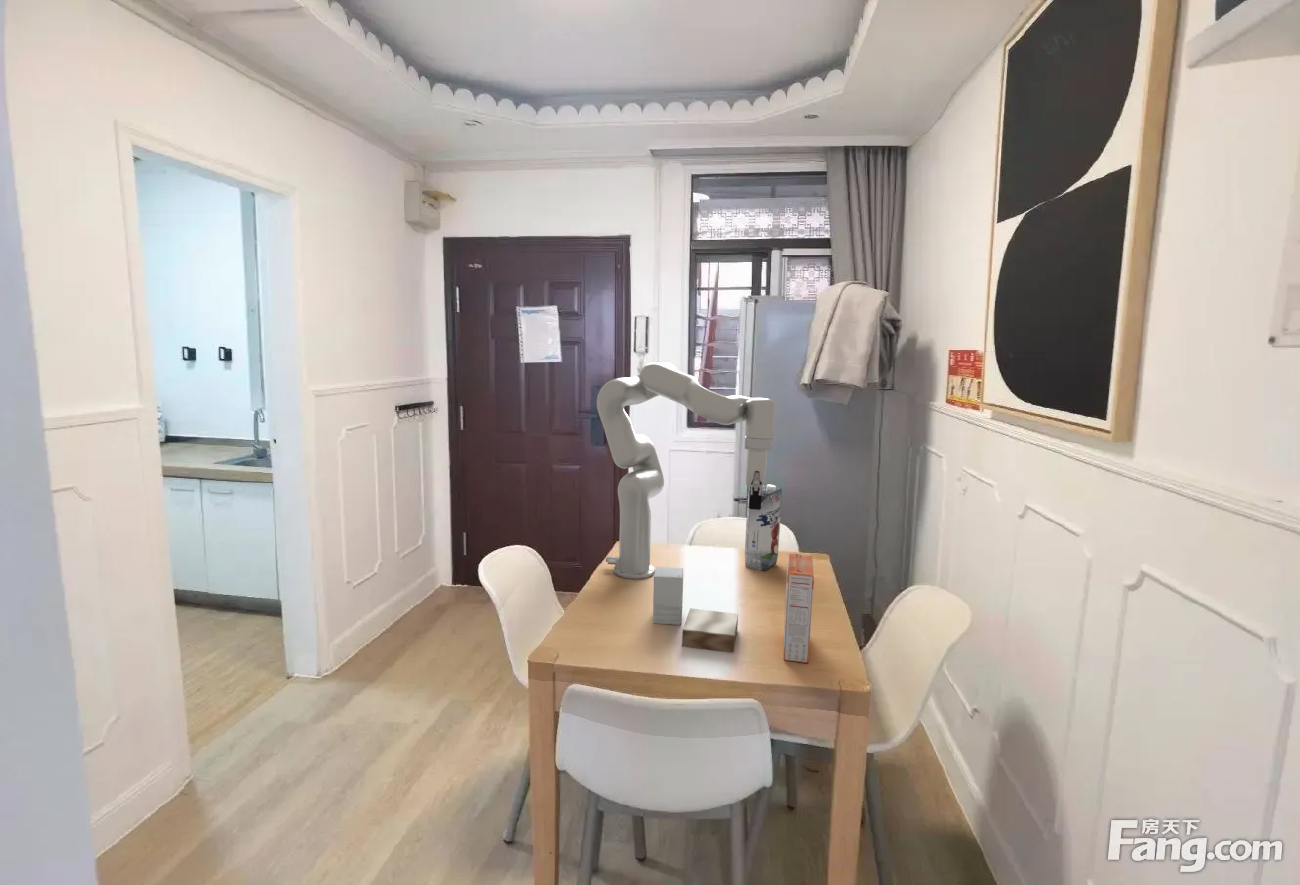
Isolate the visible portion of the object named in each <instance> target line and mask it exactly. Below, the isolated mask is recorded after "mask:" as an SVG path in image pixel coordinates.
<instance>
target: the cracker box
mask: <svg viewBox="0 0 1300 885" xmlns="http://www.w3.org/2000/svg"><path fill="white" fill-rule="evenodd" d="M813 563H814V560H813V555H806V554H805V555H804V554H796V553H789V554H788V560H787V568H786V569H787V570H786V586H785V587H786V588H785V599H784V600H785V604H784V605H785V606H784V626H783V628H784V629H783V661H786V662H787V661H788V662H792V663H793V662H794V663H795V662H796V663H802V664H809V662H810V645H811V631H812V628H811V627H812V612H813V598H814V597H813V596H814V584H815V575H814V574H815V572H814V564H813Z"/></svg>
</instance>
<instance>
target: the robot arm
mask: <svg viewBox="0 0 1300 885" xmlns="http://www.w3.org/2000/svg"><path fill="white" fill-rule="evenodd" d="M658 396H661V397H664V398H665V399H669V400H671V401H672V402H675V403H677V404H680V405H681V406H684V407H685V408H686V409H688V410H690V411H691V412H693V413H694V414H696V415H697V416H699V417H702V418H703V419H707V420H708V421H711V422H713V423H717V424H719V425H723V426H724V425H725V426H730V425H733V424H737V423H741V422H745V429H744V430H745V432H744V433H745V434H744V449H745V450H747V455H746V456H747V457H746V471H745V472H746V474H745V475H746V476H745V486H747V487H748V486H749V485H750V486H749V489H750V495H749V509H754V510H760V509H761V498H762V495H761V489H762V487H763V486H765V480H766V474H767V466H768V464H767V462H768V452H770V451H772V450H773V443H774V429H775V428H774V427H775V413H776V412H775V411H776V403H775V400H774V399H770V398H766V397H765V398H764V397H747V396H744V395H739V394H738V395H728V396H725V395H722V394H720V393H716V392H715V391H711V390H709V389H708V388H705V387H704V386H702V385H701V384H700V383H699V381H698V379H697V377H695V376H693V375H690V374H687V373H685V372H682V371H679V369H677V367H676V366H675V365H674V364H672V363H670V362H665V361H663V362H662V361H661V362H658V361H657V362H656V361H655V362H649V363H647V364H645V365H644V366H643V367H642V369H641V370H640V373H639V374H638V375H636V376H633V377H632V376H631V377H630V376H629V377H618V378H617V377H616V378H613V379H611V380H608V381H607V382H605V383H604V384H603V385H602V386H601V388H600V389H599V391H598V393H597V397H596V408H597V413H598V416H599V419H600V422H601V423H602V427H603V430H604V433H605V436H606V440H607V444H608V447H609V450H610V454H611V457H612V460H613V462H614V464H615V465H616V466H617V467H619V468H621V469H631V468H632V471H630V472H628V473H626V474H624V475H623V477H622V478H621V479H620V481H619V482H618V486H617V496H618V503H619V546H618V548H619V550H618V551H619V552H618V553H619V555H616V556H613V555H606V558H605V562H606V563H607V564H608V565H614V567H613V572H614V574H615V575H617V576H618V577H621V578H624V579H630V580H631V579H632V580H634V579H635V580H640V579H647V578H650V577H652V576H654V574H655V570H656V567H655V566H653V565H652V564H651V541H652V540H651V538H652V537H651V536H652V534H651V533H652V514H651V512H652V511H651V507H650V502H649V500H650V499H652V498H653V497H656V496H657V495H659V494H661V492H662V491H663V489H664V484H665V479H664V474H663V469H662V467H661V464H660V461H659V457H658V454H657V450H656V448H655V445H654V443H653V442H652V441H651V440H650V438H649V437H647V436H646V435H644V434H639V433H635V431H634V427H633V424H632V421H631V418H630V417H629V415H628V414H627V412H626V411H625V407H626V406H627V407H628V406H633V405H638V404H639V405H640V404H643V403H645V402H648V401H650V400H652V399H654V398H656V397H658Z"/></svg>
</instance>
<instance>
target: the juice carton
mask: <svg viewBox="0 0 1300 885" xmlns="http://www.w3.org/2000/svg"><path fill="white" fill-rule="evenodd" d="M782 491H783V489H782V488H780V487H777V486H776V485H774V484H767V485H764V486H763V487H762V489H761V495H762V498H761V509H760V510H754V509H749V495H750V488H749V489H748V492H747V505H746V507H747V508H746V523H745V541H744V542H745V544H744V566H745V567H746V568H749V569H753V570H758V571H761V572H767V571H768V570H769V569H771V568H772V567H774V566H775V565H777V562H778V557H779V546H780V544H779V543H780V532H781V530H780V528H781V512H782Z"/></svg>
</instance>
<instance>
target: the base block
mask: <svg viewBox="0 0 1300 885" xmlns="http://www.w3.org/2000/svg"><path fill="white" fill-rule="evenodd" d="M738 622H739V613H735V612H734V613H732V612H726V611H718V610H717V611H715V610H709V609H698V608H689V611H688V613H687V615H686V618H685V621H684V624H683V627H682V635H681V637H682V638H681V647H686V648H694V649H699V650H700V649H702V650H709V651H717V652H723V653H724V652H725V653H732V654H734V652H735V646H736V640H737V635H738Z"/></svg>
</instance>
